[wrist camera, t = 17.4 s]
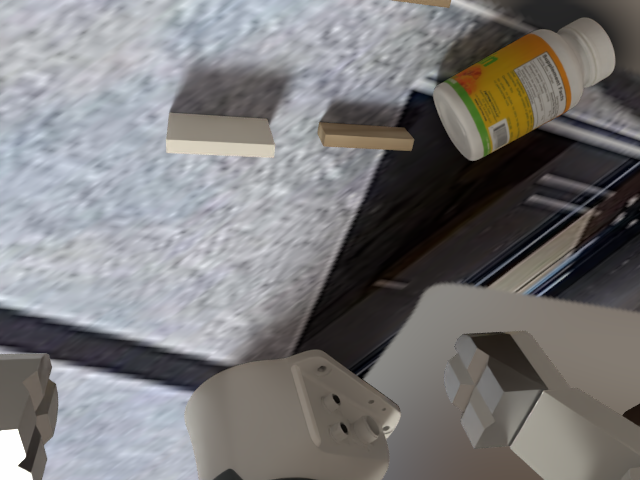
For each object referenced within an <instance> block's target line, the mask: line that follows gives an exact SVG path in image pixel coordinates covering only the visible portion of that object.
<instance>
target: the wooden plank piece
mask: <svg viewBox="0 0 640 480" xmlns="http://www.w3.org/2000/svg"><path fill="white" fill-rule="evenodd" d="M393 1H401V2H409V3H416V4H424V5H432V6H439V7H447V8H449V7H450V3H451V0H393ZM318 136H319V138H320V140H321V142H322V144H323V146H328V147H347V148H366V149H385V150H404V151H411V150H412V146H413V143H414V139H413V138H412V136H411V135H410V134H409V133H408V132H407V130H406V129H405V128H401V127H386V126H370V125H355V124H339V123H324V122H319V127H318Z"/></svg>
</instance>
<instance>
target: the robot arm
mask: <svg viewBox="0 0 640 480" xmlns="http://www.w3.org/2000/svg"><path fill="white" fill-rule="evenodd" d="M454 347H455V349H456V351H457V353H458V354H456V355H455V356H454V357H453V358H451V359H450V360H449V361H448V363H447V366H446V369H445V387H446V391H447V394H448V397H449V399H450V401H451V403H452V404H453V405H454V406H456V407H457V408H458V409H459V410H461V411H462V417H461V423H462V425H463V427H464V429H465V431H466V433H467V435H468V437H469V439H470V441H471V443H472V445H473V447H474V449H476V448H489V447H502V446H511V447H510V449H512V450H513V451H514V452H515V453H516V454H517V455H518V456H519V457H520V458H521V459H522V460H523V461H525V462H526V463H527V464H528V465H529V466H530V467H531V468H532V469H534V471H536V472H537V473H538V474H539V475H540V476H541V477H542V478H543V479H544V480H640V427H639V426H638V425H636V424H634V423H633V422H631V421H630V420H628V419H626V418H625V417H623V416H621V415H620V414H618V413H617V412H615V411H613V410H612V409H610V408H609V407H607V406H606V405H604V404H602V403H601V402H599V401H597V400H596V399H594V398H593V397H591V396H590V395H588V394H586V393H585V392H583V391H582V390H580V389H578V388H570V386H569V384H568V383H567V382H566V381H565V379H564V378H563V377H562V375H561V374H560V373H559V371H558V370H557V369H556V367H555V366H554V364H553V363H552V362H551V360H550V359H549V358H548V356H547V355H546V354H545V353H544V351H543V350H542V348H541V347H540V346H539V344H538V343H537V342H536V340H535V339H534V338H533V336H532V335H531V334H529V333H528V332H526V331H513V332H492V333H474V334H462V335H461V336H460V337H459V338H458V339H457V342H456V344H455V346H454ZM321 366H323V367H321ZM51 369H52V365H51V361H50V357H49V354H46V353H30V354H0V480H42V477H43V473H44V469H45V465H46V462H47V457H46V453H45V449H44V444H45V443H46V442H47V441H48V440H50V439H51V438H52V437H53V434H54V430H55V426H56V422H57V413H58V392H57V387H56V384H55V383H54V382H52V381H51V380H50V379H49V376H50V373H51ZM400 416H401V412H400V408H399V406H398V405H397V404H396V403H394V402H393V401H392V400H391V399H389V398H388V397H386V396H385V395H384V394H382V393H381V392H380V391H378V390H377V389H376V388H374V387H373V386H372V385H370V384H369V383H367V382H366V381H365V380H362V379H361V378H359V377H358V376H356V375H355V374H354V373H352V372H351V371H350V370H348V369H347V368H345V367H344V366H343V365H341V364H340V363H339V362H337V361H336V360H334V359H333V358H332V357H330V356H329V355H328V354H326V353H325V352H323V351H321V350H309V351H305V352H302V353H299V354H296V355H293V356H290V357H288V358H283V359H274V360H261V361H254V362H249V363H244V364H240V365H237V366H234V367H231V368H229V369H226V370H224V371H222V372H220V373H218V374H216V375H214V376H213V377H211V378H210V379H208V380H207V381H205V382H204V383H203V384H202V385H201V386H199V387H198V388H197V390H196V391H195V392H194V393H193V394H192V396H191V397H190V399H189V401H188V403H187V405H186V408H185V414H184V419H185V424H186V427H187V430H188V433H189V436H190V439H191V442H192V446H193V450H194V455H195V460H196V465H197V471H198V478H199V480H382V478H383V477H384V475H385V474H386V472H387V469H388V465H389V450H388V445H387V441H386V439H387V438H388V437H389V435H390V434H391V433H392V432H393V430H394V429H395V427H396V425H397V424H398V422H399V419H400Z"/></svg>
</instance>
